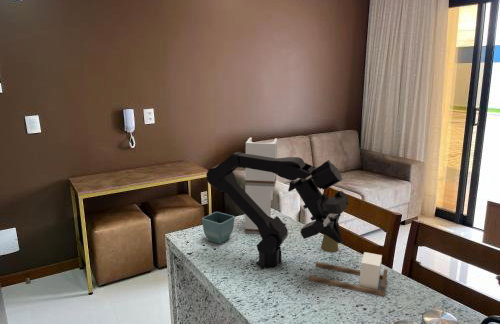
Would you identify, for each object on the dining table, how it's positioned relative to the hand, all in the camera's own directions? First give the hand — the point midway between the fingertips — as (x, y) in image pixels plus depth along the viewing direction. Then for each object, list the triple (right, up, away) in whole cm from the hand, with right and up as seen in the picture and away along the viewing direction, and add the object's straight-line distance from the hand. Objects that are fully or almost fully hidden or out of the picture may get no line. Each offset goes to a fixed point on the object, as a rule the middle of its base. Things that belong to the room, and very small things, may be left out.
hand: (340, 242), depth 114 cm
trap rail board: (+2, -12, +2) cm, 12 cm away
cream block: (+8, -12, -1) cm, 15 cm away
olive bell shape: (+1, -7, +22) cm, 23 cm away
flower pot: (-38, -5, +29) cm, 48 cm away
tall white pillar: (-22, -3, +40) cm, 45 cm away
